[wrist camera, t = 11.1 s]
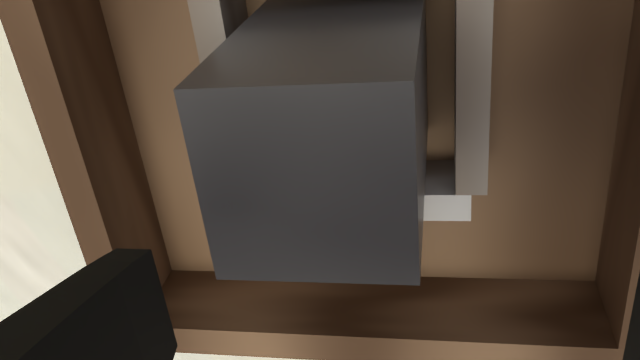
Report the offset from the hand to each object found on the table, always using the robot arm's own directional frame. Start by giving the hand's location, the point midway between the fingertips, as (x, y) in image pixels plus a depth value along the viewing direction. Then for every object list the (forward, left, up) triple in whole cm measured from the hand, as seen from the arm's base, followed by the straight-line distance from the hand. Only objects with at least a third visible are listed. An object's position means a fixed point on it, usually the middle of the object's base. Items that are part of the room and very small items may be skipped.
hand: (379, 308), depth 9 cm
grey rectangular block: (+2, -1, -9) cm, 9 cm away
